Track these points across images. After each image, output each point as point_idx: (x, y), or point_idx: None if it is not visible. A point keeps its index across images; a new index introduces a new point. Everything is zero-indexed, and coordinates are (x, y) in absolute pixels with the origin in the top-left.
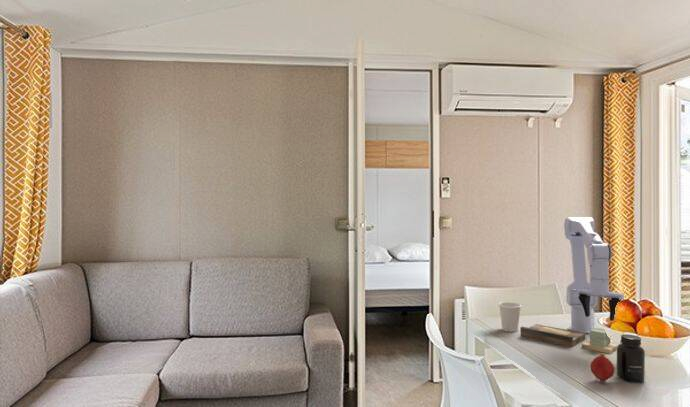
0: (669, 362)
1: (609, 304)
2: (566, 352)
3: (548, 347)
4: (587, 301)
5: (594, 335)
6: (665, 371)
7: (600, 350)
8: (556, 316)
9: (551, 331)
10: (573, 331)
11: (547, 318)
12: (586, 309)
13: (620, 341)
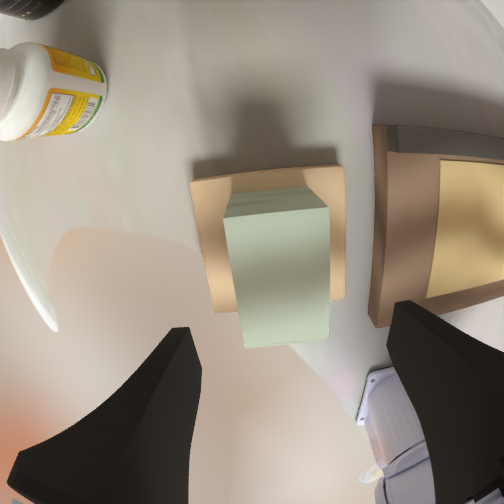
0: (34, 256)
1: (116, 460)
2: (350, 34)
3: (432, 60)
4: (466, 431)
5: (289, 201)
6: (4, 149)
7: (243, 172)
8: None
9: (487, 234)
10: None
11: None
12: (439, 338)
13: (42, 55)
